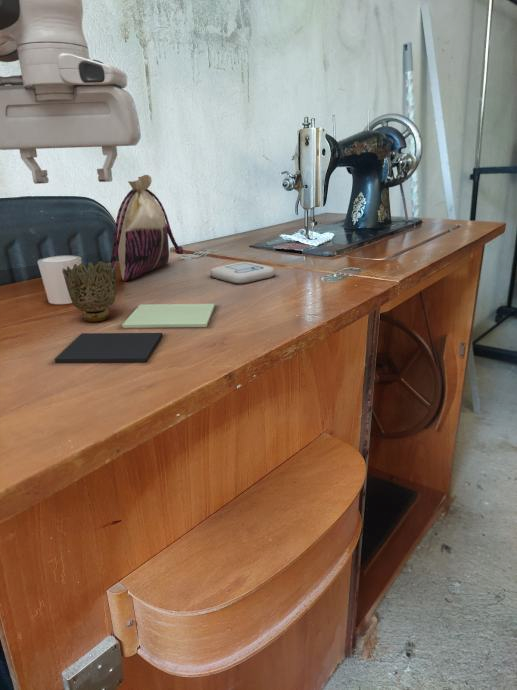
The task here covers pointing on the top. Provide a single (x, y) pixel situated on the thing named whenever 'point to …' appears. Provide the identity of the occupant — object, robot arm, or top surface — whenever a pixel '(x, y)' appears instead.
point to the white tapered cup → (57, 277)
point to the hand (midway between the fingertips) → (73, 182)
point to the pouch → (141, 232)
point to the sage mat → (170, 316)
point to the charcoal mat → (110, 347)
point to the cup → (92, 289)
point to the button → (242, 272)
